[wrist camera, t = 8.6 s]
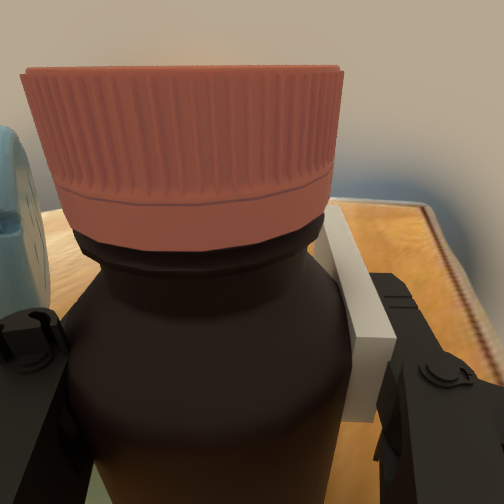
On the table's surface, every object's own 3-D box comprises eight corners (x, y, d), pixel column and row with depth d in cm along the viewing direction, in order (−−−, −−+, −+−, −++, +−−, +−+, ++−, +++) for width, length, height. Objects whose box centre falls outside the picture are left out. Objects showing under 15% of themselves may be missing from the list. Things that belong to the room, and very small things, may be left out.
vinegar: (239, 451, 20) (222, 65, 10) (336, 560, 15) (489, 64, 5) (132, 553, 15) (-92, 67, 6) (222, 739, 11) (-44, 73, 1)
